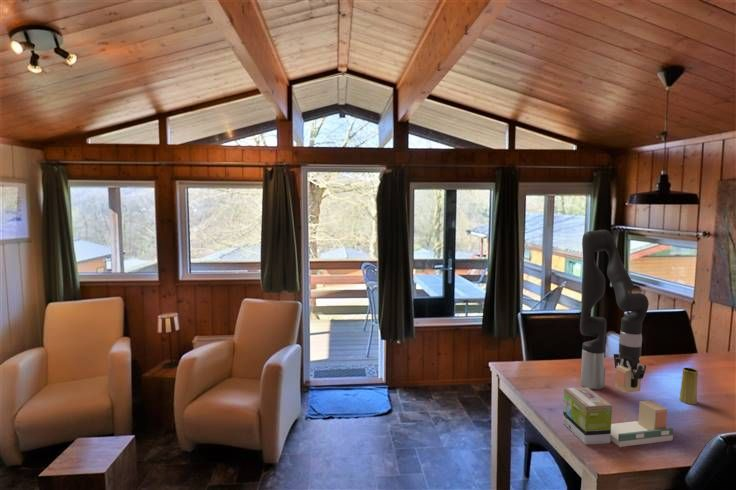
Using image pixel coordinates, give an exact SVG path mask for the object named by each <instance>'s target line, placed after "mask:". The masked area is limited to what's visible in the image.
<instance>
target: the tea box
mask: <svg viewBox="0 0 736 490" xmlns="http://www.w3.org/2000/svg"><path fill="white" fill-rule="evenodd" d="M612 417H613V405H612V404H611V403H610V402H608V401H607V400H606V399H604V397H601V396H600V395H599V394H597V393H596V392H594V391H593V389H589V388H588V387H584V386H582V387H570V388H567V387H566V388H564V389H563V415H562V423H563V425H565V426H566V427H567V428H568V429H569V430H570V431H571V432H572V433H573V434H574V435H575V436H576V437H577V438H578V439H579V441H581V442H582V443H583V444H584V445H598V444H599V445H601V444H610V443H611V440H610V437H611V424H612Z"/></svg>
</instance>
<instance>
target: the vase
mask: <svg viewBox="0 0 736 490" xmlns="http://www.w3.org/2000/svg"><path fill="white" fill-rule="evenodd" d="M698 375H699V371H698V370H697V369H696V368H693V367H682V377H681V384H680V385H681V386H680V392H679V400H680V402H682V403H684V404H687V405H697V404H698V379H699V378H698Z"/></svg>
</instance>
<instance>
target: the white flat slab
mask: <svg viewBox="0 0 736 490" xmlns="http://www.w3.org/2000/svg"><path fill="white" fill-rule="evenodd" d="M673 438H674V428H673V427H666V428H664V429H656V430H647V429H645V428H644V427H642V426H640V425H639V424H638V420H636V421H634V420H633V421H627V422H626V421H625V422H618V423H611V437H610V442H613V444H615V445H616V446H618V447H619V448H622V447H629V446H637V445H645V444H653V443H654V444H655V443H664V442H670V441H673Z"/></svg>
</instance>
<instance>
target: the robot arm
mask: <svg viewBox="0 0 736 490" xmlns="http://www.w3.org/2000/svg"><path fill="white" fill-rule="evenodd" d="M581 241H582V242H581V245H582V246H581V248H582V278H581V279H582V283H581V285H582V286H581V311H580V320H579V331H580V334H581V335H582V336H587V337H588V336H589V337H594V338H595V337H596V338H595V339H593V340H588V341H585V342H583V343H582V347H581V348H582V350H581V370H580V385H581V386H582V387H588V388H589V389H590V390H597V391H598V390H602V389H603V388H605V387H606V385H605V383H606V367H605V352H606V351H605V347H606V346H605V344H606V343H605V341H606V334H607V320H606V318H605V317H601V316H591V315H589V314H590V312H591V310H592V309H593V307H595V305H596V304H597V303H598V302H599V301H600V300H601V299H602V298H603V297H604V295H605V292H606V277H605V275H604V273H603V272H602V271H601V268H599V266H598V265H597V263H596V261H595V259H596V258H595V253H596V252H603V251H604V252H606V254H607V255H608V263H607V268H606V274H607V278H608V280H609V282H610V283H611V285H612V287H613V290H614V294H615V295H614V297H615V301H616V304H617V306H618V308H619V309H620V310H621V311H622V312H628V313H629V312H630V313H629V314H627V315H626V316H623V317H621V321H620V322H621V323H620V332H619V340H618V353H614V354H613V361H614V363H613V364H614V368H615V369H616V366H623V365H624V367H627V368H628V369H629V370H630V372H631V387H632V388H636V387H637V386H638V379H641V380H643V379H644V377H645V376H644V375H645V374H646V369H647V366H646V365H645V364H642V363H641V362H640V357H641V356H642V343H643V335H642V333H643V331H642V329H643V322H644V320H645V317H646V315H647V312H648V310H649V305H650V304H649V299H648V297H647V296H646V295H645V294H644V293H641V292H636V293H635V292H633V293H632V292H631V293H630V292H629V291H631V290H632V289H633V288H634V282H633V281H632V278H631V277H630V275H629V273H628V272H627V270H626V268H625V267H624V266H625V265H624V263H623V262H622V258H621V256H620V253H619V249H618V247H617V243H616V242H615V239H614V237H613V235H612V233H611V232H610V231H609V230H608V229H598V230H589V231H588V230H587V231H585V232H584V234H583V235H582V240H581ZM632 369H636V370H632ZM634 372H635V375H634Z"/></svg>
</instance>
